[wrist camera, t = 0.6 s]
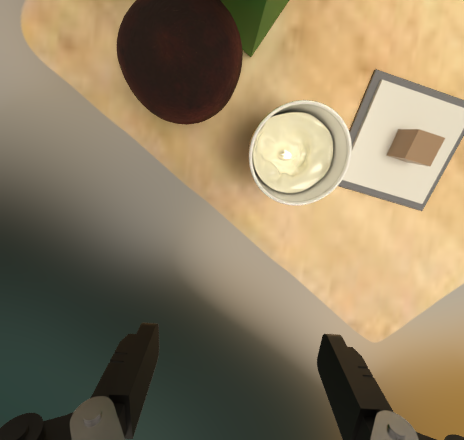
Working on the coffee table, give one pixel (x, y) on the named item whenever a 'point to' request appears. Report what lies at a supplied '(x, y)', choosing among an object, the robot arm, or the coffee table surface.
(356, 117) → the rubber mat
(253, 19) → the hardback book
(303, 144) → the candle holder
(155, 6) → the decorative mushroom
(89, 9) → the coffee table surface
